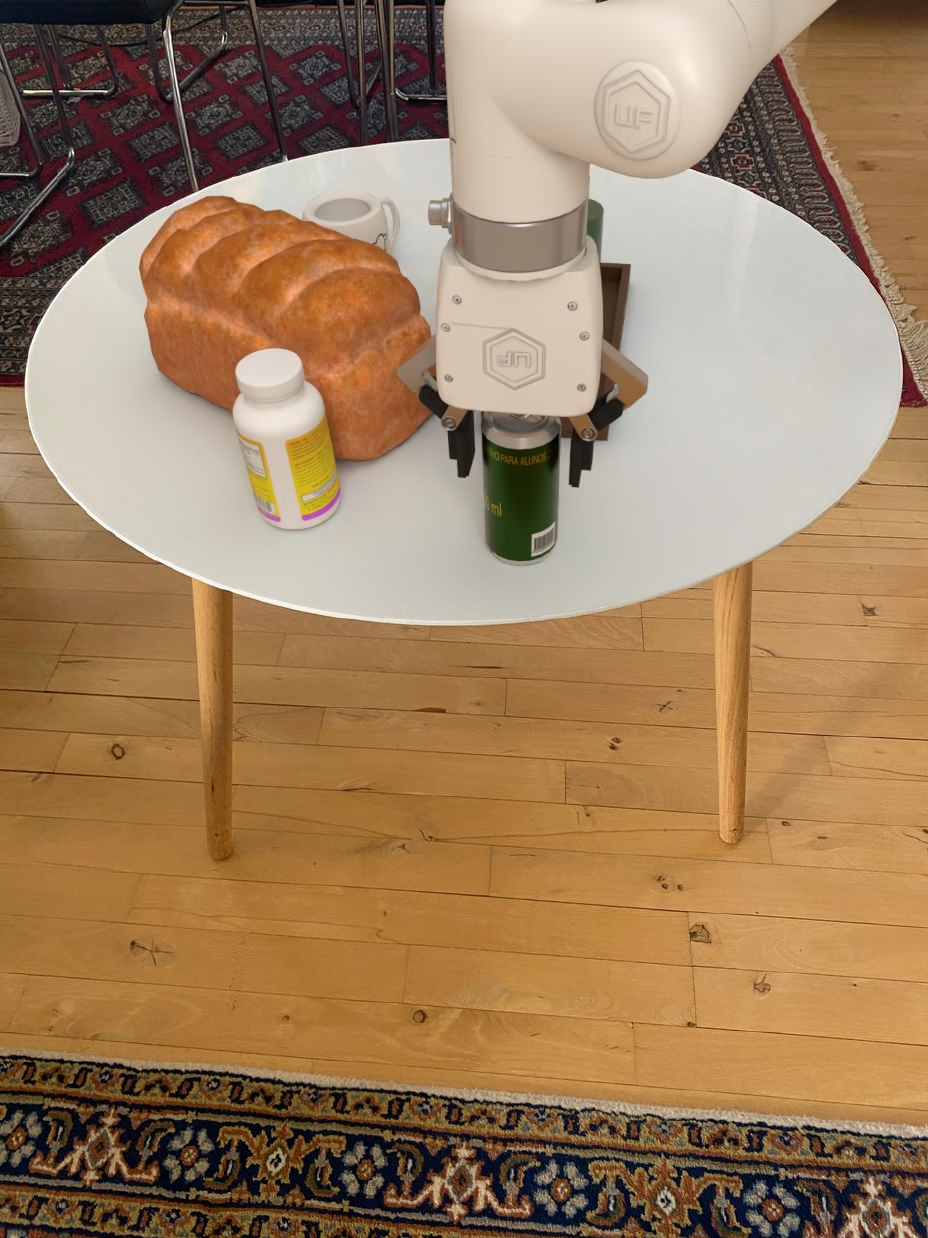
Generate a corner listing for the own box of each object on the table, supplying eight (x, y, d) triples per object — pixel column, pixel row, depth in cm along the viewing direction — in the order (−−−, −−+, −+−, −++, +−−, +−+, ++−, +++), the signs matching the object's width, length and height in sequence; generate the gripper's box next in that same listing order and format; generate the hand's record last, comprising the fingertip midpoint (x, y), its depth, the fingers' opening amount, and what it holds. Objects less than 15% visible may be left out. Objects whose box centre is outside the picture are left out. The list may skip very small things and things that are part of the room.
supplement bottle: (349, 479, 80) (325, 340, 71) (333, 535, 76) (306, 395, 66) (268, 476, 81) (234, 338, 71) (249, 532, 76) (210, 393, 67)
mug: (355, 311, 98) (344, 234, 92) (294, 286, 101) (280, 211, 95) (432, 260, 104) (426, 185, 98) (372, 239, 107) (363, 166, 102)
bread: (251, 311, 98) (215, 153, 87) (461, 399, 87) (451, 230, 75) (143, 378, 91) (88, 215, 80) (356, 484, 80) (328, 311, 68)
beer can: (571, 539, 74) (578, 407, 65) (526, 579, 72) (527, 447, 63) (516, 509, 77) (515, 378, 68) (470, 547, 74) (463, 416, 65)
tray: (629, 283, 99) (631, 263, 97) (607, 440, 82) (608, 420, 80) (524, 277, 100) (524, 258, 99) (481, 431, 84) (480, 410, 82)
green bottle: (600, 287, 97) (608, 164, 88) (595, 315, 94) (603, 190, 85) (548, 284, 98) (550, 162, 89) (541, 312, 95) (543, 188, 86)
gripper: (355, 249, 55) (387, 494, 68) (673, 265, 52) (643, 517, 65) (386, 189, 60) (411, 428, 73) (678, 200, 57) (649, 446, 70)
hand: (520, 468), depth 69 cm, fingers open, 7 cm apart
